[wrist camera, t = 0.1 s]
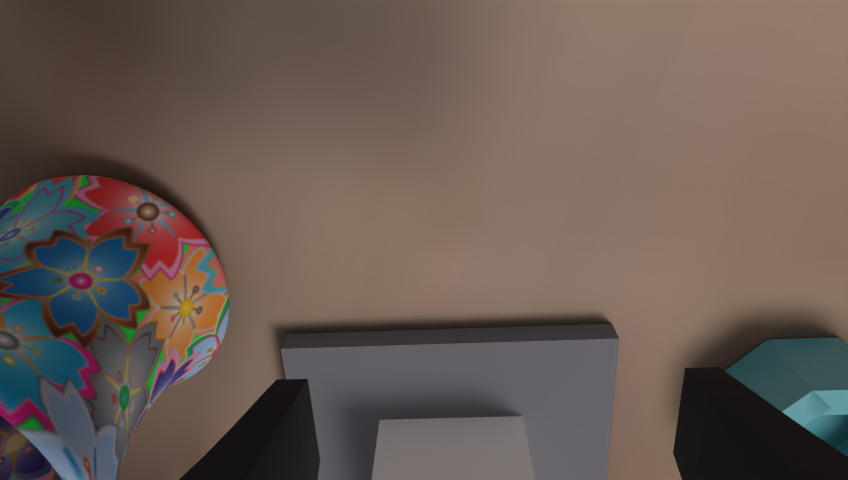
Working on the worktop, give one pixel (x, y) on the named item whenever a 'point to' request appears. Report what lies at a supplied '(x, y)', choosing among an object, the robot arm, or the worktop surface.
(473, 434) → the white block
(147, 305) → the mug
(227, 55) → the worktop surface
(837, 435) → the bowl
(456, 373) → the mat
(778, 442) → the robot arm
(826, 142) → the worktop surface
